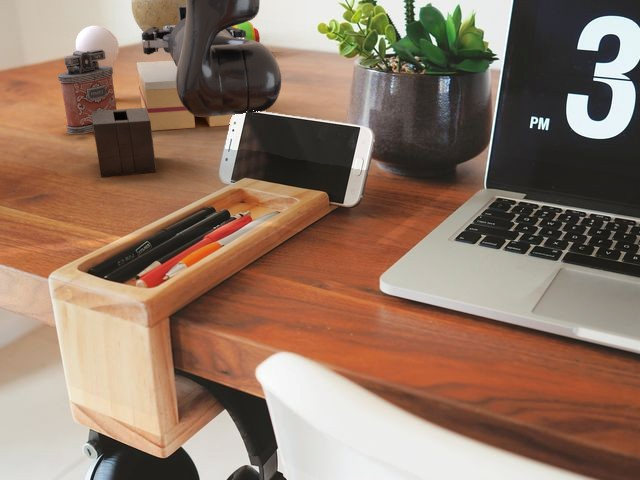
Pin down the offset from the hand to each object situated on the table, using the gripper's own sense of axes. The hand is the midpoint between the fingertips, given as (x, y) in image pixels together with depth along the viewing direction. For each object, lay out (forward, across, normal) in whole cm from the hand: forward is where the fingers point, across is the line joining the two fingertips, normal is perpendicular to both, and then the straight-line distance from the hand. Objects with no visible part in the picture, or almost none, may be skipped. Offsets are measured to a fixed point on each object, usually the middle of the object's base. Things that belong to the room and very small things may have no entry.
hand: (185, 30), depth 102 cm
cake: (-3, 0, +11) cm, 12 cm away
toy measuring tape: (+39, -16, +12) cm, 44 cm away
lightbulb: (+10, +12, +12) cm, 19 cm away
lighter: (-6, +14, +12) cm, 19 cm away
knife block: (-24, +11, +11) cm, 29 cm away
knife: (-3, 0, +11) cm, 12 cm away
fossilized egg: (+62, -3, +12) cm, 64 cm away
